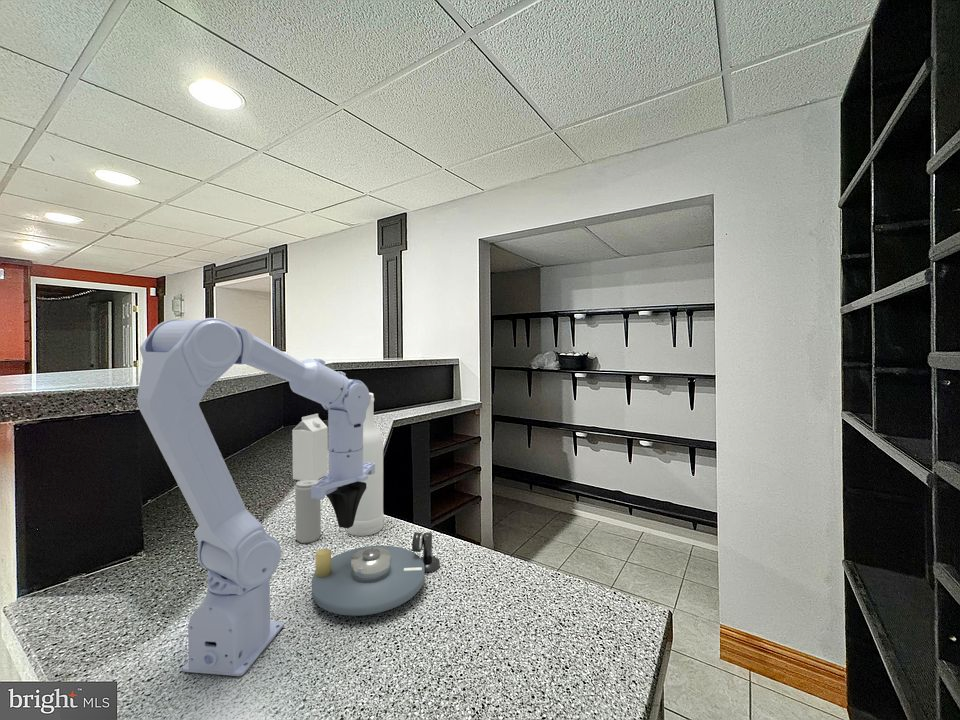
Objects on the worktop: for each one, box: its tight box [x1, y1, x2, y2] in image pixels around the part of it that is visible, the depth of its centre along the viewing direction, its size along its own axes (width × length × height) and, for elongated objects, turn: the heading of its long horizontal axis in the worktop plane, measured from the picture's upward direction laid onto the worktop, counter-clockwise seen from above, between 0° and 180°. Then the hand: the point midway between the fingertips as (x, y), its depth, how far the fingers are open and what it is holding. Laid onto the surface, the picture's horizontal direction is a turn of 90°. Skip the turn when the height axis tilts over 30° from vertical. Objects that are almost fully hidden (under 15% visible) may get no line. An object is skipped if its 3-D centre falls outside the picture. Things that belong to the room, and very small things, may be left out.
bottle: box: [346, 392, 385, 537], centre depth 91 cm, size 8×8×30 cm
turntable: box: [311, 544, 425, 617], centre depth 69 cm, size 18×18×5 cm
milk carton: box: [291, 413, 328, 481], centre depth 126 cm, size 7×7×19 cm
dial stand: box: [411, 531, 441, 573], centre depth 76 cm, size 5×4×7 cm
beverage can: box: [294, 479, 322, 544], centre depth 87 cm, size 5×5×12 cm
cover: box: [351, 547, 391, 583], centre depth 69 cm, size 6×6×3 cm
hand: (345, 526), depth 72 cm, fingers closed
